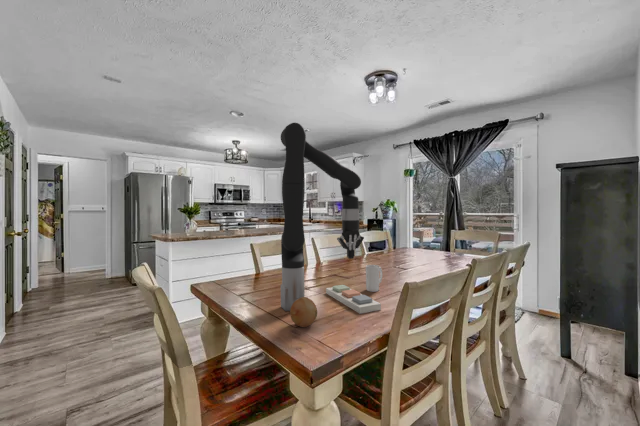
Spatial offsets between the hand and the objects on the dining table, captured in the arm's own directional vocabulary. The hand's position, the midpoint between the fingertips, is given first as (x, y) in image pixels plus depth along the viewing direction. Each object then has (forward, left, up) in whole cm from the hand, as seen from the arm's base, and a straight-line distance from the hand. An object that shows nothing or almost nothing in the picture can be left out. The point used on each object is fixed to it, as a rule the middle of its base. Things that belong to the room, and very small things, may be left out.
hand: (350, 258), depth 131 cm
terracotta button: (0, 0, -17) cm, 17 cm away
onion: (-29, -16, -19) cm, 38 cm away
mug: (+20, +10, -19) cm, 29 cm away
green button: (0, +9, -17) cm, 19 cm away
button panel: (0, 0, -19) cm, 19 cm away
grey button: (0, -9, -17) cm, 19 cm away
